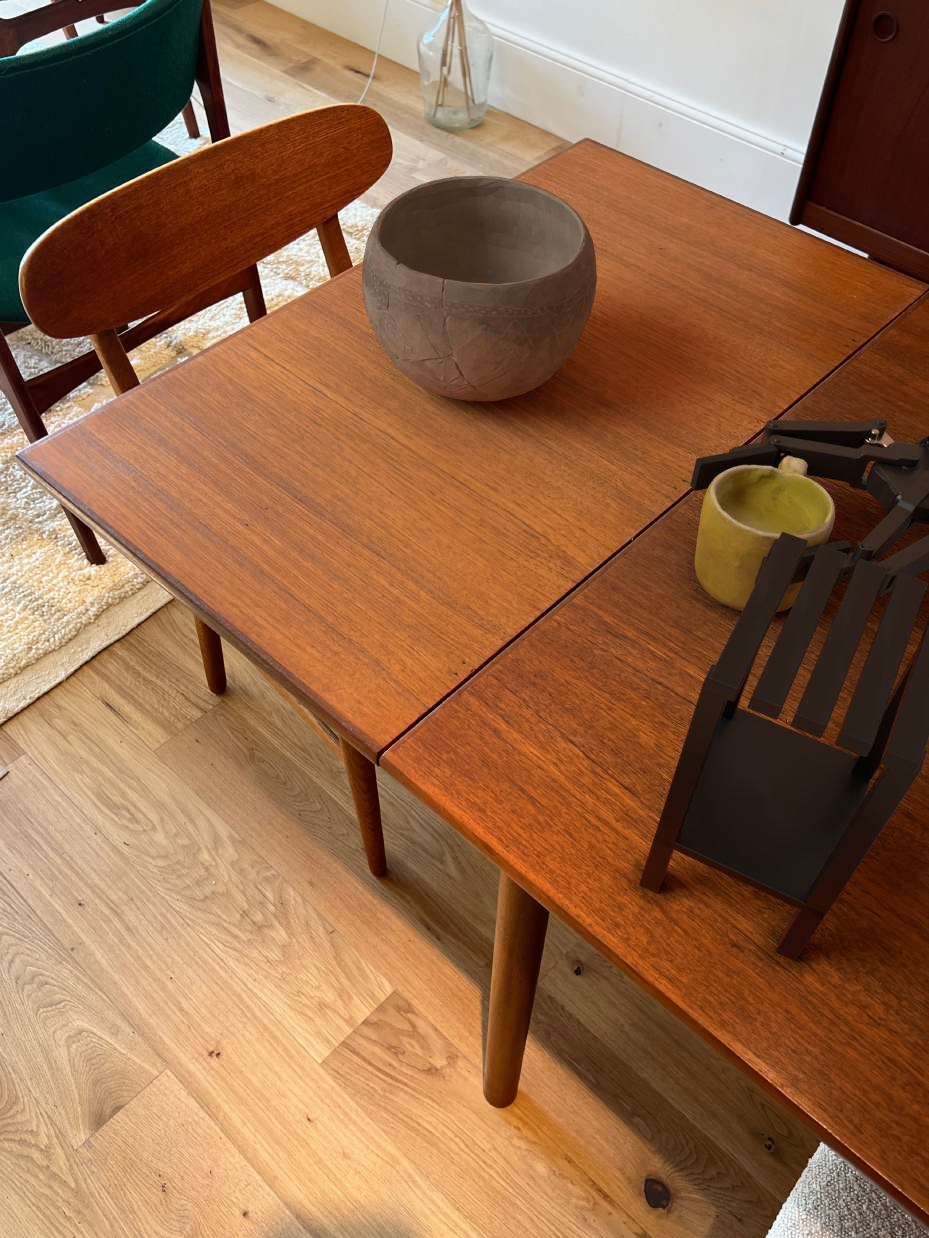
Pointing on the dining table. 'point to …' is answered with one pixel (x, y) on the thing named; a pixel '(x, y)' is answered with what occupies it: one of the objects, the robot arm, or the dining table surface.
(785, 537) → the rack
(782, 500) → the mug
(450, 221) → the bowl
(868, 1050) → the dining table surface
